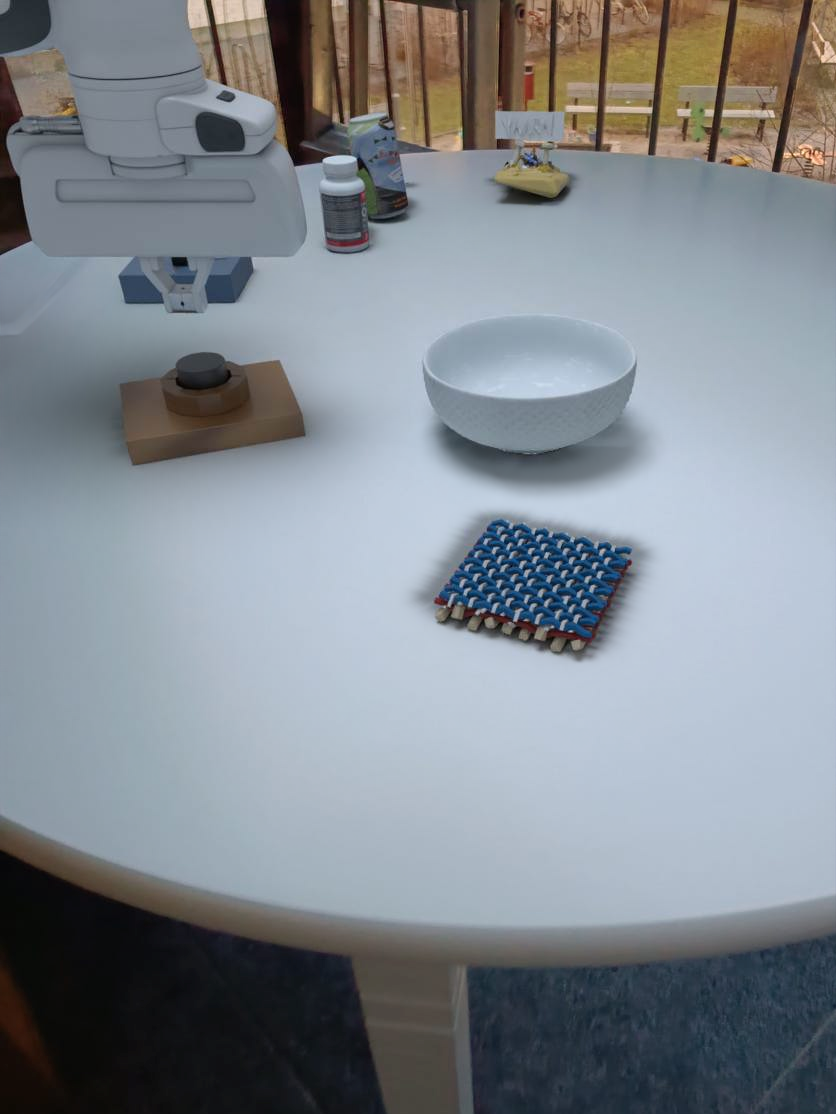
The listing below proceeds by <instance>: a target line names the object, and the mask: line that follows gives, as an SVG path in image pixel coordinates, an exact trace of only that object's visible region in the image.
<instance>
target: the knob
mask: <svg viewBox="0 0 836 1114" xmlns="http://www.w3.org/2000/svg"><path fill="white" fill-rule="evenodd" d="M171 260H172V264H173V266H187V265H188V260H187V257H171Z"/></svg>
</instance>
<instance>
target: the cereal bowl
mask: <svg viewBox="0 0 836 1114" xmlns="http://www.w3.org/2000/svg"><path fill="white" fill-rule="evenodd" d="M637 362H638V357H637V351H636V349H635V347H634V346H633V344H632V343H631V341H629V339H627V337H625V336H624V335H623V334H621V333H620V332H618V331H617V330H615V329H613V328H611V327H608V326H606V325H604V324H601V323H597V322H595V321H592V320H588V319H585V318H581V317H580V318H579V317H574V316H568V315H562V314H552V313H511V314H502V315H494V316H488V317H484V318H479V319H475V320H472V321H471V320H470V321H467V322H464V323H461V324H459V325H456V326H453V327H451V328H449V329H447V330H446V331H443V332H442V333H441V334H439V335H437V336H436V337H435V338H433V339H432V340H431V341H430V342H429V343H428V344H427V346H426V348H425V350H424V351H423V355H422V361H421V365H422V373H423V381H424V387H425V391H426V395H427V397H428V400H429V403H430V405H431V407H432V408H433V411H434V412H435V414H436V415H437V416H438V417H439V419H441V420H442V422H443V423H444V424H445V425H447V426H448V427H449V428H450V429H451V430H453V431H454V432H455V433H456V434H458V435H460V436H461V437H462V438H466V439H467V440H469V441H472V442H474V443H477V444H480V445H482V446H487V447H490V448H494V449H497V448H498V449H497V450H499V449H501V450H500V451H502V450H505V451H504V452H506V451H508V452H507V453H510V452H514V453H513V454H516V453H522V454H521V455H525V454H524V453H529V454H528V455H535V454H534V453H542V454H544V453H543V452H547V451H552V452H554V451H553V450H555V451H557V450H556V449H558V450H560V449H559V448H561V447H563V448H565V447H570V446H573V445H576V444H580V443H581V442H585V441H586V440H588V439H590V438H593V437H594V436H596V435H598V434H599V433H601V432H602V431H604V430H607V428H608V427H609V426H610V425H612V424H613V423H614V421H616V420H617V419H618V417H619V416H620V415H621V414H622V413H623V411H624V409H626V407H627V403H628V402H629V401H630V397H631V395H632V393H633V388H634V385H635V379H636V373H637V366H638V363H637ZM561 449H562V448H561Z"/></svg>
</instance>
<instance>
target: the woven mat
mask: <svg viewBox="0 0 836 1114" xmlns="http://www.w3.org/2000/svg"><path fill="white" fill-rule="evenodd" d="M509 522H510V520H509V519H506V520H504V519H502V518H500V519H497V520H492V521H491V522H490V524H488V525H487V527H486V531H484V532H483V533H482V534H481V536H480V537H479V538H478V539H477V541H476V542H475V543H474V545H473V547H472V549H471V550H470V551H469V552H467V556H465V557H464V559H463V562H461V563H460V564H459V565H458V566H457V568H458V569H459V570H458V569H456V570H455V571H454V573H453V575H451V577H450V579H449V581H448V582H449V583H445V584H444V588H443V589H442V590H441V591H440V592H439V594H438V596H436V597H435V598H434V600H433V604H435V605H438V606H440V607H439V609H438V611H436V614H435V615H434V618H435V619H436V621H437V622H438V621H440V622H439V623H441V622H443V621H446V619H447V618H448V616H450V617H451V618H452V619H457V620H461V621H463V618H467V617H470V616H472V617H471V618H470V620H469V622H468V623H467V625H466V627H467V628H468V629H469V630H470V629H471V630H475V631H477V629H478V628H479V626H480V624H481V622H482V621H483V619H484V625H485V627H486V628H488V629H495V628H496V627H497V626H499V624H500V623H503V624H502V627H501V632H502V633H503V634H504V633H505V634H504V635H507V636H510V635H511V634H512V632H513V631H514V629H515V628H516V627H519V628H521V630H519V631H520V632H519V635H518V639H520V640H522V639H523V640H522V641H524V642H526V641H527V640H528V639H529V638H530V636H531V634H533V635H534V637H533V638H534V639H535V640H538V641H542V642H546V639H549V638H553V637H554V639H553V641H552V642H551V644H550V649H551V651H552V650H554V651H553V652H561V651H562V650H563V648H564V646H565V643H566V641H567V640H572V641H570V644H571V648H572V650H573V651H574V652H576V651H580V650H582V649H584V647H585V644H586V643H588V644H591V642H592V640H593V639H595V638H596V636H597V635H598V634H597V633H596V632H595V631H593V629H594V630H599V627H600V624H601V623H600V621H602V620H603V619H604V613H606V612H607V609H608V608H611V605H612V603H611V600H610V599H608V598H614V597H615V592H616V593H617V591H618V588H619V586H618V585H621V583H622V578H624V577H625V575H626V571H627V570H628V568H629V567H630V566H632V564H633V561H632V559H631V558H629V559H628V558H627V556H626V555H629V556H631V554H632V551H633V548H630V547H628V546H623V547H621V546H620V547H618V545H615V544H613V545H612V544H610V543H611V541H610V540H606V541H605V542H599V541H596V542H592V541H591V540H589V539H588V535H583V536H582V537H579V538H578V536H569V532H565V533H564V532H556V531H554V530H553V531H549V530H548V528H549V527H547V526H544V528H539V527H533V528H530V527H528V526H527V522H521V523H519V524H518V523H516V522H510V523H509ZM450 613H451V615H450ZM471 630H470V631H471ZM508 634H509V635H508Z"/></svg>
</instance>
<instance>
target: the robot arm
mask: <svg viewBox="0 0 836 1114" xmlns="http://www.w3.org/2000/svg"><path fill="white" fill-rule="evenodd" d="M188 7H189V0H0V58H16V57H23V56H27V55H30V54H35V53H39V52H43V51H53V50H57V51H58V52H59V53H60V54H61V55H62V57H63V60H64V62H65V66H66V67H65V68H66V71H67V75H68V76H67V77H68V79H69V84H70V88H71V92H72V96H73V99H74V102H75V107H76V110H77V114H72V115H71V114H69V115H68V114H67V115H65V114H64V115H63V114H61V115H53V116H41V115H35V114H34V115H33V114H30V115H24V116H20V117H19V121H18V122H16V123H14V124H12V125H11V127H10V128H9V130H8V131H7V134H6V147H7V151H8V154H9V159H10V162H11V164H12V167H13V169H14V171H15V173H16V174H17V176H18V177H19V181H20V188H21V195H22V202H23V207H24V213H25V218H26V221H27V226H28V230H29V234H30V238H31V241H32V243H33V244H34V246H36V247H37V249H38V250H40V252H42V253H43V254H44V255H45V256H47V257H50V258H57V257H58V258H84V257H85V258H134V257H139V261H140V265H141V270H142V272H143V273H144V274H145V275H146V276H147V278H148V279H149V280H150V281H151V282H152V283H153V285H154V286H155V287H156V288H157V289H158V290H159V292H162V296H163V300H164V303H163V304H164V309H165V311H166V313H167V314H205V312H206V311H207V310H208V303H209V302H207V297H206V292H205V287H204V286H205V284H206V281H207V279H208V276H209V273H210V271H211V268H212V265H213V263H214V259H213V257H251V258H292V257H295V255H296V254H297V253H298V252H299V250H300V249H301V248H302V246H303V245H304V243H305V242H306V238H307V234H308V225H307V216H306V210H305V205H304V200H303V194H302V191H301V186H300V182H299V179H298V175H297V171H296V167H295V165H294V162H293V160H292V157H291V155H290V153H289V152H288V150H287V149H286V147H285V146H284V145H283V144H282V143H280V142H279V141H278V140H276V139H275V138H274V137H275V135H276V133H277V129H278V124H279V123H278V113H277V109H276V106H275V105H274V103H272V102H271V101H270V100H268V99H265V98H262V97H260V96H257V95H254V94H251V93H248V92H246V91H242V90H239V89H236V88H233V87H230V86H228V85H224V84H222V83H219V82H217V81H214V80H211V79H209V78H206V77H205V73H204V66H203V61H202V55H201V53H200V50H199V48H198V46H197V43H196V41H195V39H194V37H193V33H192V29H191V26H190V20H189V10H188V9H189V8H188ZM20 130H21V131H22V132H18V131H20ZM166 257H187V260H188V265H189V269H190V270H191V271H196V270H197V274H196V277H195V280H194V283H193V284H176V283H175V282H174V281H173V279H172V278H171V276H170V275H169V274H168V272H167V271H166V270H165V268H164V267H163V266H162V265H163V264H164V262H165V261H166V260H167V259H166Z"/></svg>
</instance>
